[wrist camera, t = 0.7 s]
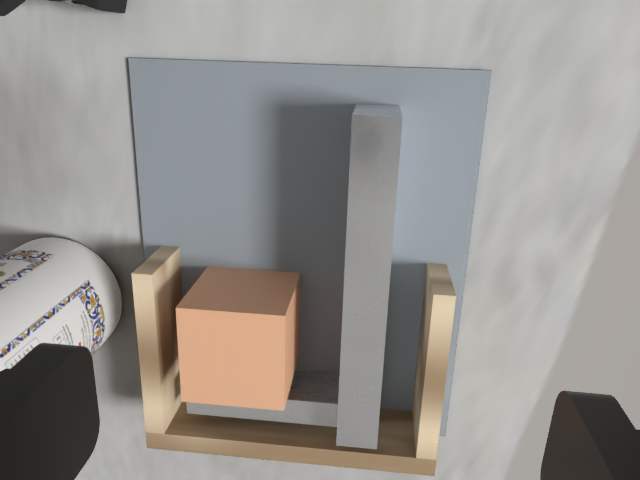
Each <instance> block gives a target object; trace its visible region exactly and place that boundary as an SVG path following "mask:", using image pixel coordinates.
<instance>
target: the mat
mask: <svg viewBox="0 0 640 480" xmlns="http://www.w3.org/2000/svg"><path fill="white" fill-rule="evenodd" d="M128 62H129V74H130V87H131V99H132V111H133V124H134V136H135V149H136V161H137V173H138V186H139V198H140V210H141V223H142V235H143V248H144V260H147V259H148V258H149V257H150V256H151V255H152V254H153V253H154V252H155V251H156V250H158V249H159V248H160V247H161V246H170V247H180V262H181V279H182V297H183V298H184V296H185V295H186V294H187V293H188V291H189V290H190V289H191V287H192V286H193V285H194V284H195V282H196V281H197V280H198V278H199V277H200V276H201V275H202V273H203V272H204V271H205V270H206V268H207V267H223V268H238V269H253V270H267V271H282V272H297V273H301V274H300V325H299V357H298V361H297V365H296V368H304V369H316V370H328V371H340V354H341V333H342V312H343V291H344V270H345V249H346V229H347V208H348V187H349V166H350V145H351V124H352V113H353V111H354V109H355V106H356V104H374V105H399V106H400V109H401V113H402V116H403V120H402V133H401V146H400V159H399V172H398V184H397V197H396V210H395V223H394V236H393V249H392V261H391V274H390V287H389V300H388V313H387V326H386V338H385V351H384V364H383V377H382V390H381V403H380V408H381V409H392V410H404V411H412V407H413V397H414V387H415V377H416V367H417V357H418V347H419V337H420V327H421V317H422V307H423V297H424V288H425V278H426V268H427V263H431V264H446V265H447V267H448V270H449V274H450V277H451V280H452V284H453V287H454V290H455V294H456V302H455V310H454V319H453V327H452V335H451V343H450V351H449V359H448V368H447V376H446V384H445V392H444V400H443V409H442V417H441V425H440V433H439V436H445V434H446V426H447V418H448V410H449V402H450V394H451V386H452V378H453V371H454V363H455V355H456V347H457V339H458V331H459V323H460V315H461V307H462V299H463V292H464V284H465V276H466V268H467V260H468V252H469V244H470V236H471V228H472V220H473V213H474V205H475V197H476V189H477V181H478V173H479V165H480V157H481V149H482V142H483V134H484V126H485V118H486V110H487V102H488V94H489V86H490V78H491V70H464V69H435V68H406V67H378V66H349V65H320V64H291V63H263V62H234V61H205V60H177V59H148V58H128Z"/></svg>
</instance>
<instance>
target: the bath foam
mask: <svg viewBox="0 0 640 480" xmlns="http://www.w3.org/2000/svg"><path fill="white" fill-rule="evenodd" d="M121 311H122V297H121V292H120V288H119V285H118V282H117V280H116V278H115V276H114V274H113V273H112V271H111V269H110V268H109V267H108V265H107V264H106V263H105V262H104V261H103V260H102V259H101V258H100V257H99V256H98V255H97V254H96V253H94V252H93V251H91V250H90V249H88V248H87V247H85V246H83V245H81V244H79V243H77V242H74V241H71V240H67V239H63V238H54V237H48V238H40V239H35V240H32V241H29V242H27V243H25V244H23V245H21V246H19V247H17V248H15V249H13V250H12V251H10V252H8V253H6V254H4V255H2V256H0V371H2V370H4V369H11V368H12V367H13V366H14V365H15V364H16V363H18V362H19V361H20V360H21V359H22V358H23V357H24V356H25V355H26V354H28V353H29V352H30V351H31V350H32V349H33V348H34V347H36V346H37V345H38V344H40V343H52V344H64V345H75V346H84V347H87V348H88V349H89V351H90V353H91V356H92V355H93V354H94V353H95V352H96V351H97V349H98V348H99V347H100V346H101V345H102V344H103V343H104V342H105V341H106V340H107V339H108V337H109V336H110V335H111V334H112V332H113V331H114V330H115V328H116V326H117V324H118V322H119V320H120V316H121Z"/></svg>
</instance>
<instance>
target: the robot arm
mask: <svg viewBox="0 0 640 480" xmlns="http://www.w3.org/2000/svg"><path fill="white" fill-rule="evenodd" d="M99 425H100V420H99V410H98V402H97V394H96V385H95V377H94V369H93V361H92V356H91V353H90V351H89V349H88V348H87V347H84V346H75V345H64V344H52V343H40V344H38V345H37V346H36V347H34V348H33V349H32V350H31V351H30V352H29V353H28V354H26V355H25V356H24V357H23V358H22V359H21V360H20V361H19V362H18V363H16V364H15V365H14V366H13V367H12V368H11V369H4V370H2V371H0V480H74V479H75V478H76V476H77V475H78V473H79V472H80V470H81V469H82V468H83V466H84V465H85V463H86V462H87V460H88V459H89V457H90V456H91V454H92V452H93V450H94V447H95V445H96V442H97V438H98V433H99ZM541 480H640V430H636V429H635V428H634V426H633V425H632V423H631V422H630V420H629V418H628V417H627V415H626V414H625V412H624V411H623V409H622V408H621V406H620V404H619V403H618V401H617V400H616V399H615V398H614V397H613V396H611V395H604V394H593V393H582V392H570V391H562V392H560V393H559V395H558V397H557V399H556V402H555V406H554V411H553V415H552V420H551V425H550V429H549V434H548V438H547V443H546V447H545V452H544V456H543V461H542V466H541Z"/></svg>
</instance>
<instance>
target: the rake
mask: <svg viewBox="0 0 640 480" xmlns="http://www.w3.org/2000/svg"><path fill="white" fill-rule="evenodd" d="M402 120H403V116H402V113H401V109H400V106H399V105H374V104H356V106H355V109H354V111H353V113H352V124H351V145H350V166H349V187H348V208H347V229H346V249H345V270H344V291H343V312H342V333H341V354H340V371H328V370H316V369H304V368H295V372H294V376H293V380H292V384H291V387H290V391H289V395H288V399H287V402H286V406H285V410H284V411H280V410H269V409H257V408H246V407H235V406H224V405H213V404H202V403H191V402H187V413H189V414H200V415H211V416H222V417H233V418H244V419H254V420H265V421H276V422H287V423H298V424H309V425H320V426H331V427H337V437H336V446H347V447H357V448H368V449H377V441H378V428H379V415H380V403H381V390H382V377H383V364H384V351H385V338H386V326H387V313H388V300H389V287H390V274H391V261H392V249H393V236H394V223H395V210H396V197H397V184H398V172H399V159H400V146H401V133H402Z"/></svg>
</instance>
